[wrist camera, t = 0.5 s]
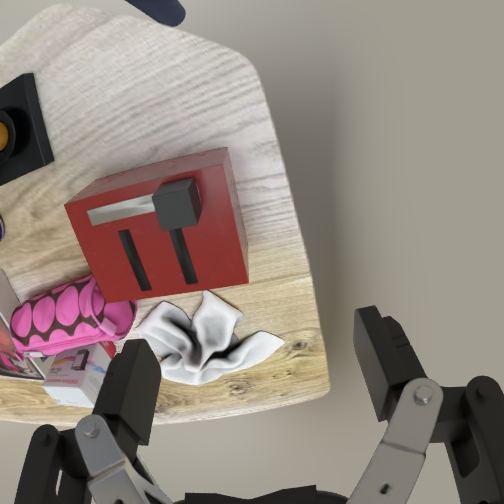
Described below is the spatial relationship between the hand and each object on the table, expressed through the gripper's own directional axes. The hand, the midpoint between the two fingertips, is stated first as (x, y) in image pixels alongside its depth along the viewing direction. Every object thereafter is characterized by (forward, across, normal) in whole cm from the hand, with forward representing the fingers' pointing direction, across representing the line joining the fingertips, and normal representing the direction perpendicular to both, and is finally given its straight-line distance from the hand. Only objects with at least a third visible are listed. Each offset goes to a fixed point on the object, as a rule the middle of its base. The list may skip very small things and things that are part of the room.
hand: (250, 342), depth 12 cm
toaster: (+25, +9, +3) cm, 27 cm away
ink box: (+26, +30, +22) cm, 46 cm away
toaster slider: (+17, +5, -1) cm, 18 cm away
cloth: (+25, +10, +24) cm, 37 cm away
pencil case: (+26, +28, +14) cm, 40 cm away
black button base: (+25, +27, -12) cm, 39 cm away
